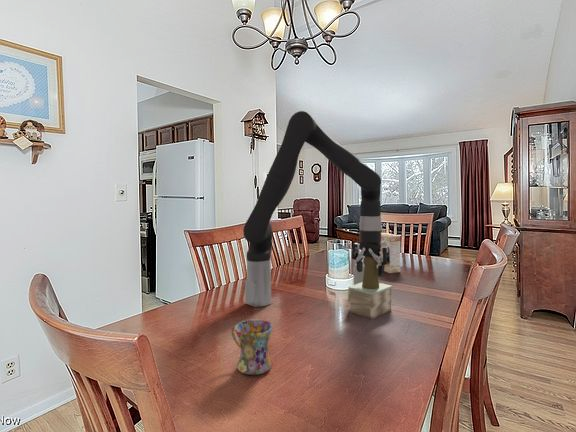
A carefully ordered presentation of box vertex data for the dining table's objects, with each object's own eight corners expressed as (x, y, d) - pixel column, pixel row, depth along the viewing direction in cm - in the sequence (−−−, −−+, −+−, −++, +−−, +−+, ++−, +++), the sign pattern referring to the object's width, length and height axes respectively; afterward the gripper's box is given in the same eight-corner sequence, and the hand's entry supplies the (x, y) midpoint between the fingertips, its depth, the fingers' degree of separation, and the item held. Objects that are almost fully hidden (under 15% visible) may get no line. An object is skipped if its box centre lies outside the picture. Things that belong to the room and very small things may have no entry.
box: (372, 319, 113) (372, 295, 113) (348, 311, 121) (348, 289, 120) (391, 310, 121) (391, 288, 121) (367, 303, 129) (367, 283, 128)
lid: (373, 295, 113) (373, 293, 113) (348, 289, 120) (348, 286, 120) (392, 287, 121) (392, 285, 121) (367, 282, 128) (367, 280, 128)
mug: (280, 365, 84) (280, 324, 83) (257, 383, 77) (256, 337, 76) (244, 352, 91) (243, 314, 90) (219, 368, 83) (218, 326, 82)
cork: (366, 283, 124) (366, 254, 123) (382, 286, 121) (382, 255, 120) (359, 287, 120) (359, 256, 119) (375, 290, 116) (375, 258, 115)
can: (371, 295, 139) (371, 266, 138) (353, 294, 141) (353, 266, 140) (370, 289, 146) (371, 262, 146) (353, 289, 148) (353, 262, 147)
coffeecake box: (373, 267, 189) (373, 232, 188) (384, 266, 191) (384, 232, 190) (389, 273, 175) (389, 236, 173) (400, 272, 177) (401, 235, 175)
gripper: (347, 228, 121) (347, 272, 123) (382, 231, 111) (381, 279, 112) (359, 226, 127) (359, 268, 128) (394, 229, 116) (393, 275, 117)
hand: (370, 273), depth 120 cm, fingers open, 8 cm apart
